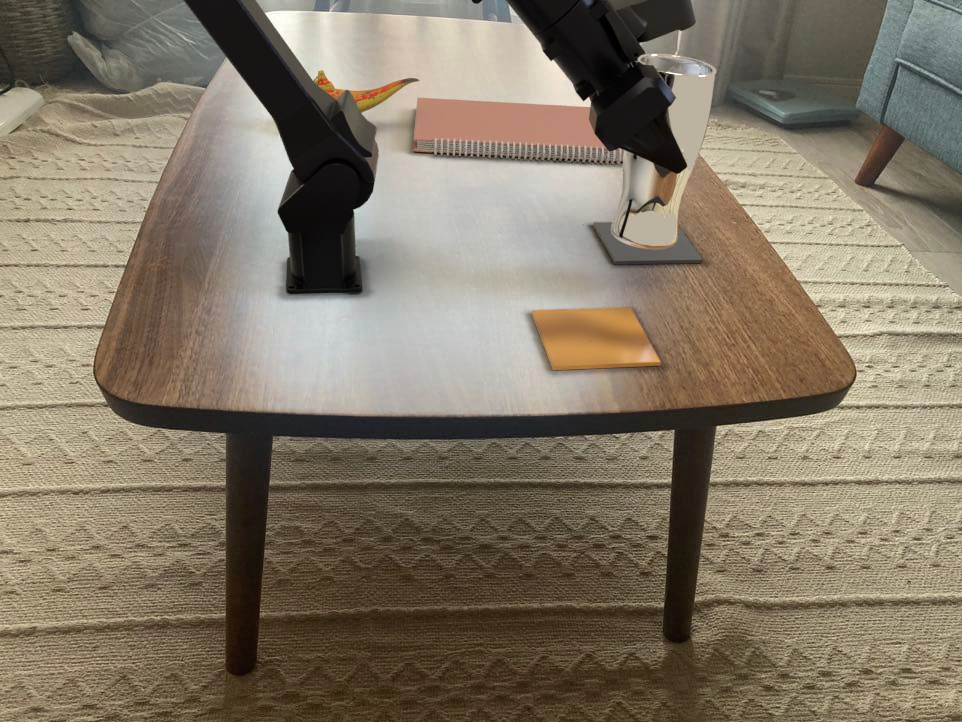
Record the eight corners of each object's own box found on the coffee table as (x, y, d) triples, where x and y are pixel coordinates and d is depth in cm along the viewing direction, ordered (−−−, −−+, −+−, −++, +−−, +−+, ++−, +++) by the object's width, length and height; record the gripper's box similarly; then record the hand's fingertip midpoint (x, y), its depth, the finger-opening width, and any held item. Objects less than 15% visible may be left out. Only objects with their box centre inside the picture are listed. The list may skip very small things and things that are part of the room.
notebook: (413, 156, 110) (413, 139, 108) (417, 110, 123) (417, 95, 122) (639, 167, 112) (642, 151, 111) (619, 121, 126) (621, 106, 125)
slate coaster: (702, 263, 92) (702, 259, 92) (614, 264, 90) (615, 261, 90) (674, 224, 99) (674, 221, 99) (592, 225, 97) (592, 222, 97)
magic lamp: (421, 143, 113) (422, 50, 107) (268, 141, 110) (259, 44, 103) (417, 124, 119) (418, 34, 112) (271, 122, 115) (263, 28, 109)
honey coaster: (660, 365, 76) (661, 361, 75) (552, 370, 74) (553, 366, 74) (630, 311, 83) (630, 307, 83) (531, 314, 81) (531, 310, 81)
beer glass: (594, 237, 82) (622, 62, 74) (621, 214, 87) (650, 48, 79) (668, 259, 80) (706, 81, 72) (691, 233, 85) (729, 65, 77)
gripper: (669, -44, 62) (787, 130, 69) (623, -86, 77) (724, 60, 85) (540, 68, 65) (666, 222, 73) (521, 7, 80) (627, 140, 88)
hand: (673, 154), depth 80 cm, fingers closed on beer glass, 7 cm apart
